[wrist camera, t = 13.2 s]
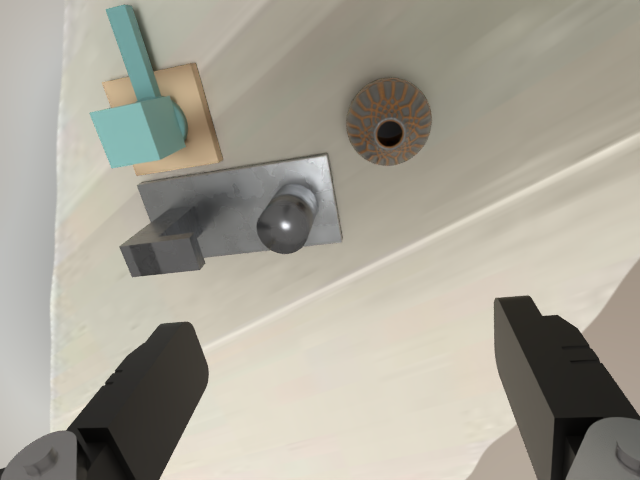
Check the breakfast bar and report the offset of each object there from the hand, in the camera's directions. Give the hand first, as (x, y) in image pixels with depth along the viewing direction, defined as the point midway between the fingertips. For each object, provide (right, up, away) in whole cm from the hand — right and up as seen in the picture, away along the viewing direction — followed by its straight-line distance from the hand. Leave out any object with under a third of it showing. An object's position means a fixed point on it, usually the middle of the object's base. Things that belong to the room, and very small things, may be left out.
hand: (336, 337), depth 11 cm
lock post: (-9, +6, +32) cm, 34 cm away
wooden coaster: (-15, +14, +29) cm, 36 cm away
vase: (+6, +14, +26) cm, 30 cm away
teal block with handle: (-16, +17, +27) cm, 35 cm away
